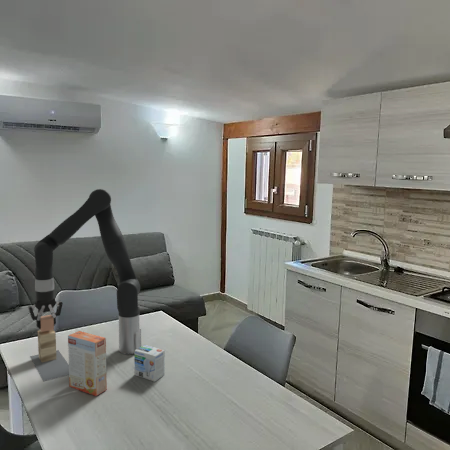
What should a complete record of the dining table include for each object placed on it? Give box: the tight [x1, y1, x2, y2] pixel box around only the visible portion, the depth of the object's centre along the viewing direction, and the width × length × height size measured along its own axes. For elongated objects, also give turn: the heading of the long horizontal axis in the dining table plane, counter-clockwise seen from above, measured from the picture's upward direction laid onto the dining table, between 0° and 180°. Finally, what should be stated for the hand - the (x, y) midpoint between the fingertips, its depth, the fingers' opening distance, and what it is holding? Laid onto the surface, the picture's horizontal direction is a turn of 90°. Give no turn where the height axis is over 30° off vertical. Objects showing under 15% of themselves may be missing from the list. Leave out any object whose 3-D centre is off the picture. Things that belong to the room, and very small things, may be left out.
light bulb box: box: [133, 344, 166, 382], centre depth 174 cm, size 11×7×11 cm, turn 62°
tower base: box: [37, 344, 57, 362], centre depth 186 cm, size 6×6×6 cm
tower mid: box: [37, 329, 57, 349], centre depth 186 cm, size 6×6×6 cm
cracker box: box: [67, 330, 108, 397], centre depth 162 cm, size 14×6×21 cm, turn 62°
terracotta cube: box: [39, 314, 55, 332], centre depth 185 cm, size 5×5×5 cm
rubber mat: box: [29, 349, 69, 382], centre depth 181 cm, size 26×12×1 cm, turn 35°
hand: (46, 326), depth 185 cm, fingers closed on terracotta cube, 5 cm apart
